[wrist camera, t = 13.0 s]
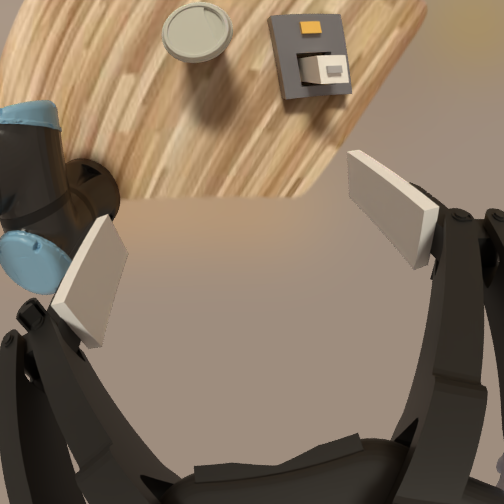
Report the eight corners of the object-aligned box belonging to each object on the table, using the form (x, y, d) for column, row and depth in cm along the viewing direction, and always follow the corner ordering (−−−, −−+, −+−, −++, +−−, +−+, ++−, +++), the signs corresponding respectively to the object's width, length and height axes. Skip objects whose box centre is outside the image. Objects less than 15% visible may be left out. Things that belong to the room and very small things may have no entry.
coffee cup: (222, 70, 36) (223, 67, 27) (168, 62, 35) (151, 58, 25) (235, 22, 32) (241, 4, 22) (181, 15, 30) (168, -5, 20)
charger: (300, 81, 39) (322, 84, 30) (296, 58, 36) (318, 55, 28) (323, 79, 39) (350, 82, 30) (320, 57, 36) (347, 54, 28)
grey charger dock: (281, 97, 40) (287, 99, 37) (267, 19, 32) (271, 14, 29) (344, 92, 40) (354, 94, 37) (333, 17, 32) (342, 13, 29)
